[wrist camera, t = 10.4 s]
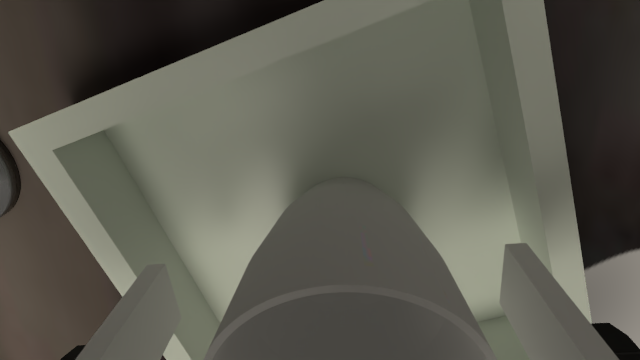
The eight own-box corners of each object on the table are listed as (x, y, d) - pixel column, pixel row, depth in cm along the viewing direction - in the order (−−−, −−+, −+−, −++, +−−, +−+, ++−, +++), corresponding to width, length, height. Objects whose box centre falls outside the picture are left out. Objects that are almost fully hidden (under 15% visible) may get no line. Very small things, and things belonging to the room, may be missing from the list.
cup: (230, 217, 20) (136, 396, 11) (351, 109, 17) (363, 220, 8) (339, 313, 22) (339, 531, 13) (461, 228, 19) (568, 423, 10)
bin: (73, 108, 19) (7, 132, 15) (484, -63, 15) (530, -86, 11) (244, 385, 25) (228, 449, 22) (555, 311, 22) (599, 372, 18)
